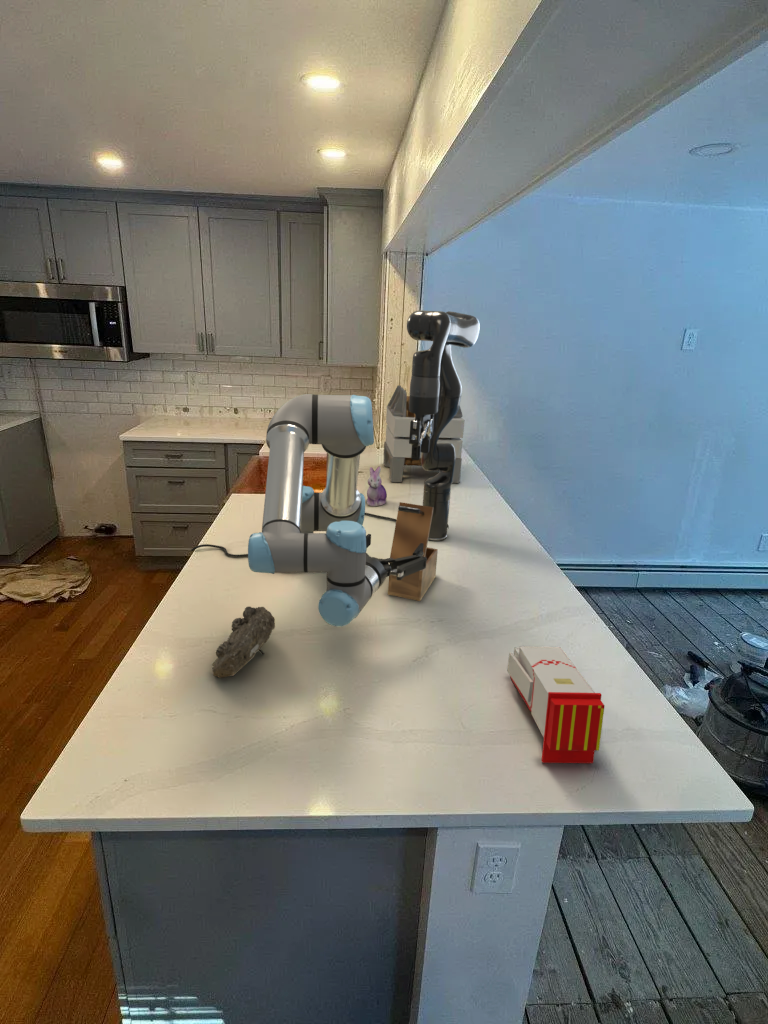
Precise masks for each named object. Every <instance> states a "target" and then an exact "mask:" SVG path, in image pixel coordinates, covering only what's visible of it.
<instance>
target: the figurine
mask: <svg viewBox="0 0 768 1024" xmlns="http://www.w3.org/2000/svg"><path fill="white" fill-rule="evenodd" d="M381 469H382V468H381V466H378V467H377V468H376V469H375V470H374V468H373V467H372V466H370V467H369V477H368V479H367V484H368V488H367V491H366V497H367V498H366V500H365V503H366V504H367V506H370V507H377V506H383V505H385V504H386V502H387V496H388V494H387V493H388V492H387V490H386V488H385V486H384V485H383V484H382V478H381V475H380V474H381Z"/></svg>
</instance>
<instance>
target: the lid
mask: <svg viewBox="0 0 768 1024" xmlns="http://www.w3.org/2000/svg"><path fill="white" fill-rule="evenodd" d="M398 503H399V504H398V507H397V508H398V509H397V516H396V519H397V520H396V521H395V526H394V532H393V538H392V544H391V547H390V555H389V558H393V559H397V558H402V557H407V556H411V555H413V552H414V551H415V550H416V548H417V547H418V546H419V544H420V543H424V546H423V552H424V556H423V557H425V555H426V549H427V547H428V544H429V543H428V542H429V540H428V538H429V532H430V526H431V521H432V515H433V509H434V508H433V507H428V506H423V504H422V505H421V504H415V503H408V502H401V501H399V502H398Z"/></svg>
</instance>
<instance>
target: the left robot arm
mask: <svg viewBox="0 0 768 1024" xmlns="http://www.w3.org/2000/svg"><path fill="white" fill-rule="evenodd" d="M265 442H266V446H267V447H268V449H269V451H268V462H267V473H266V483H265V484H266V485H265V494H264V504H263V514H262V515H263V516H262V523H261V524H262V525H261V531H259V532H253V533H251V534H250V535H249V539H248V542H247V553H243V554H242V553H241V554H233V553H229V552H228V550H227V549H226V547H224V546H222V545H216V544H209V543H206V544H204V543H203V544H198V545H195V546H194V547H192V548H191V549H190V551H191V552H193V551H195V550H197V549H199V548H204V547H209V548H215V549H221V550H223V552H224V553H225V555H226V556H228V557H232V558H244V557H247V562H248V563H247V564H248V568H249V569H250V570H251V571H252V572H254V573H262V574H272V575H274V574H290V573H291V574H293V573H294V574H295V573H299V574H300V573H304V574H305V573H306V574H307V573H308V574H312V573H313V574H314V573H315V574H319V573H323V574H324V573H325V574H326V590H325V591H324V593H323V594H322V595H321V597H320V599H319V600H318V604H317V608H318V613H319V615H320V617H321V619H322V620H324V622H326V623H327V624H328V625H330V626H333V627H336V628H341V627H342V628H343V627H345V626H347V625H349V624H350V623H352V621H353V620H354V619H356V618H358V616H359V614H360V613H361V611H362V610H364V607H365V606H366V605H367V604H368V603H369V601H370V600H371V599H372V597H373V596H374V595H375V594H376V592H377V591H378V590H379V589H380V587H382V585H383V584H384V582H385V581H386V579H387V578H389V576H390V575H393V576H396V579H397V580H402V579H403V578H404V577H405V576H408V575H410V574H413V573H415V572H418V571H420V570H422V569H425V568H426V562H427V558H426V557H423V556H424V552H423V546H424V543H420V544H419V546H418V547H417V548H416V550H415V551H414V552H413V555H411V556H407V557H402V558H397V559H393V558H390V557H388V558H378V557H374V556H370V555H369V554H368V553H367V550H368V548H369V547H370V546H371V545H372V534H371V533H367V531H366V529H365V528H366V527H364V526H363V525H364V521H365V516H366V515H365V513H366V498H365V495H364V494H363V493H362V492H359V490H358V481H359V479H358V478H359V469H360V458H361V455H362V454H363V453H364V451H365V450H366V449H367V447H369V446H372V445H374V443H375V433H374V417H373V404H372V400H371V398H369V397H368V396H366V395H357V394H313V393H306V394H305V393H304V394H299V395H297V396H294V397H292V398H290V399H288V401H286V402H285V403H283V404H282V405H281V406H280V407H279V408H278V409H277V410H276V412H275V413H274V414H273V415H272V417H271V419H270V420H269V423H268V425H267V429H266V436H265ZM309 445H321V447H322V449H323V450H324V452H325V453H326V473H325V475H326V479H325V480H326V481H325V488H324V489H323V490H322V491H321V492H315V490H314V489H313V487H312V486H309V485H307V486H306V485H304V463H305V452H306V451H307V450H308V448H309ZM322 532H323V533H322ZM324 532H325V533H324Z"/></svg>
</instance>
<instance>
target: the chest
mask: <svg viewBox="0 0 768 1024" xmlns="http://www.w3.org/2000/svg"><path fill="white" fill-rule="evenodd" d="M425 557H426V558H427V562H426V568H425V569H422V570H420V571H418V572H415V573H413V574H410V575H408V576H405V577H404V578H403V579H402V580H397V579H396V576H393V575H390V576H388V581H387V582H388V584H387V585H388V586H387V595H388V596H393V597H398V598H404V599H407V600H412V601H418V602H421V601H422V599H423V598H424V596H425V594H426V593H427V591H428V590H429V588H430V587H431V585H432V583H433V582H434V580H435V579H436V576H437V564H438V548H432V547H428V546H427V549H426V555H425Z"/></svg>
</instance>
